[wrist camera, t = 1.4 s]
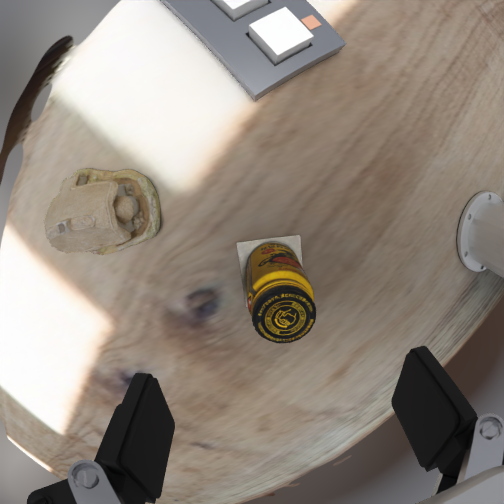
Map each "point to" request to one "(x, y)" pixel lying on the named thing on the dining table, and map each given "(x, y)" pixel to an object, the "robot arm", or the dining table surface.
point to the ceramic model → (102, 212)
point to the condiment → (277, 288)
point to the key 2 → (238, 7)
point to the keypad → (246, 52)
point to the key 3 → (280, 35)
